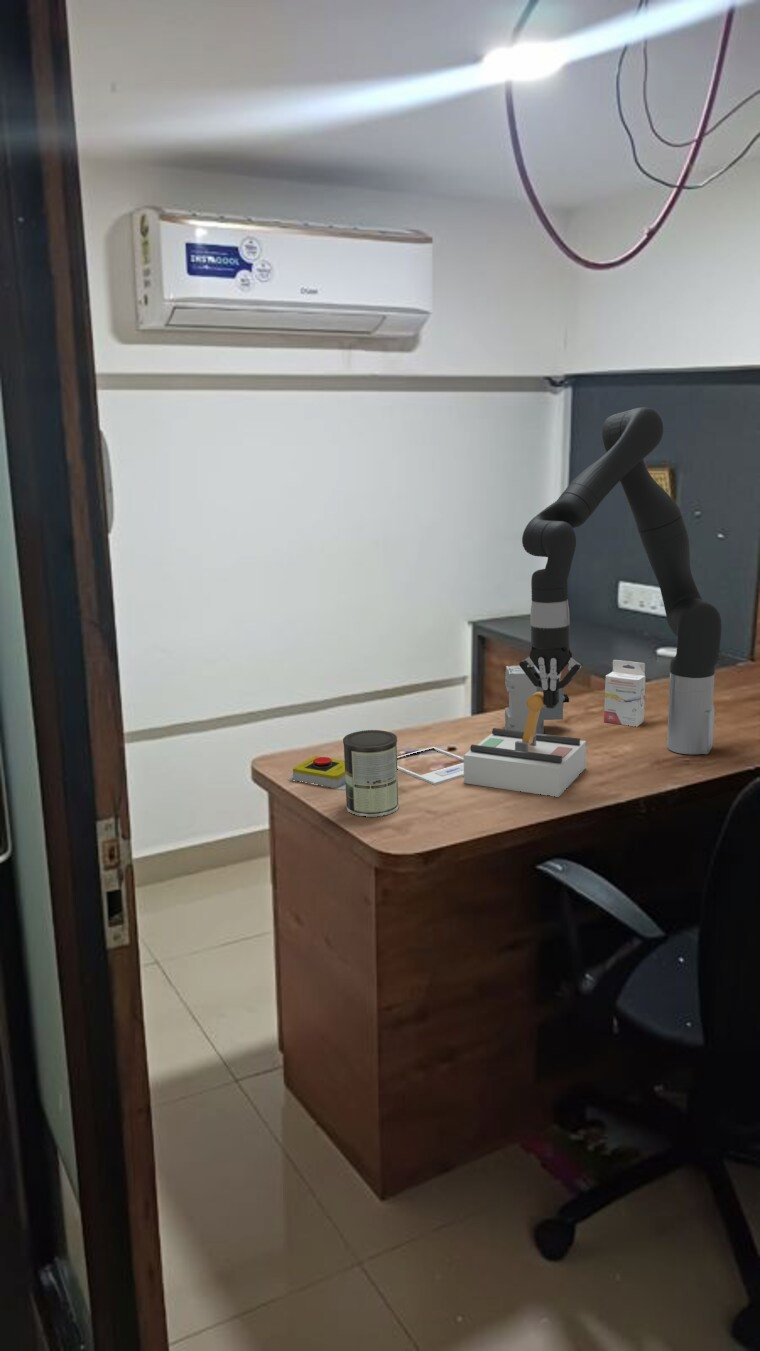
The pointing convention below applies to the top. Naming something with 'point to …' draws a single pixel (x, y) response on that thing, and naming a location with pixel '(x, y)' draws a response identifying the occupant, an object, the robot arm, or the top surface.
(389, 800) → the coffee can
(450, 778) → the photo frame
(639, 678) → the ink cartridge box
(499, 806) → the top surface
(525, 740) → the lever
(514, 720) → the circuit breaker
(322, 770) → the emergency button
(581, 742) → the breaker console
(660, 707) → the top surface
